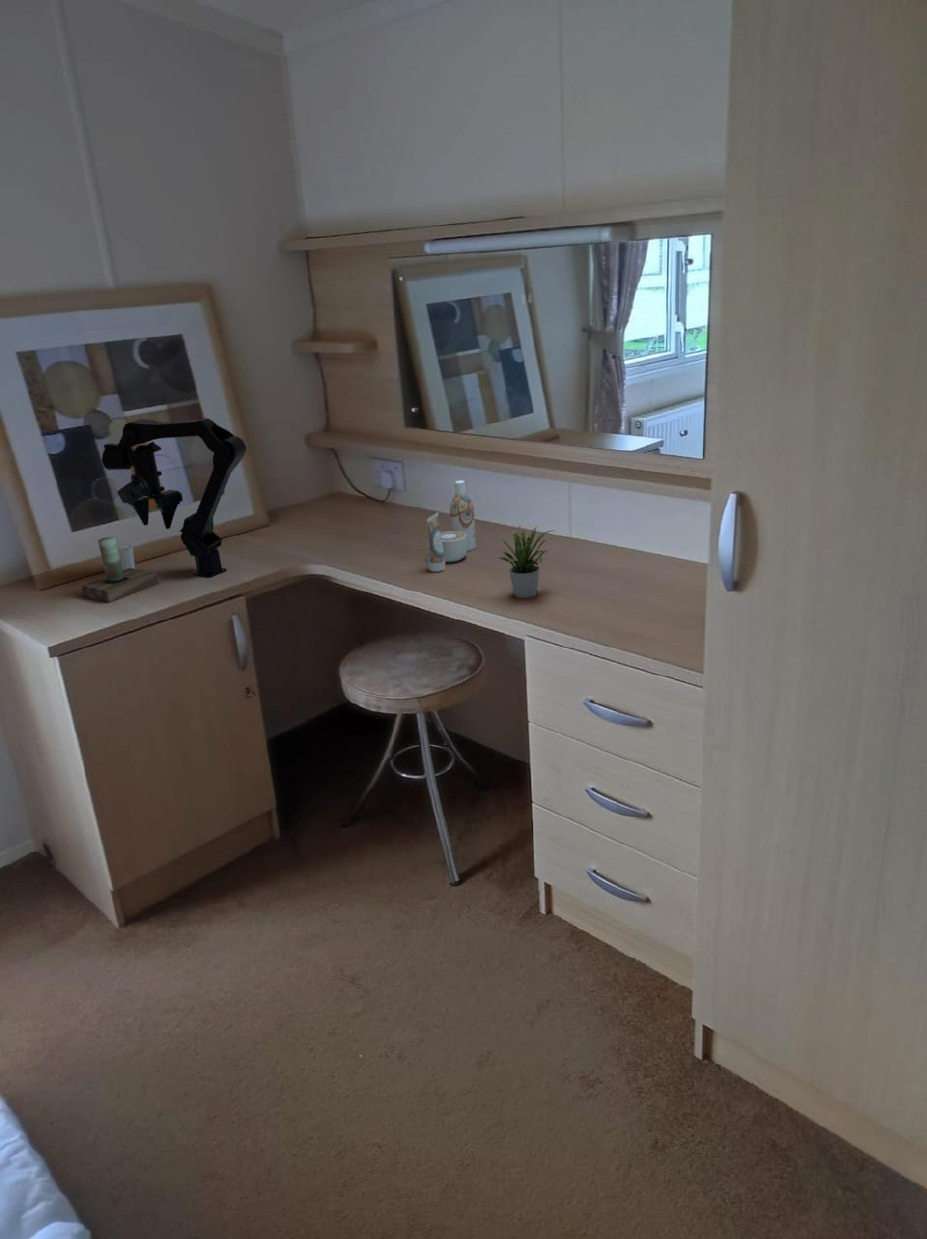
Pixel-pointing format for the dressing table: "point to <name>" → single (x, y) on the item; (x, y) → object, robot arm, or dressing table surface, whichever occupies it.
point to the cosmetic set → (452, 532)
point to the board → (120, 585)
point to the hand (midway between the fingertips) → (156, 526)
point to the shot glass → (126, 556)
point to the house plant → (524, 564)
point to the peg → (111, 560)
